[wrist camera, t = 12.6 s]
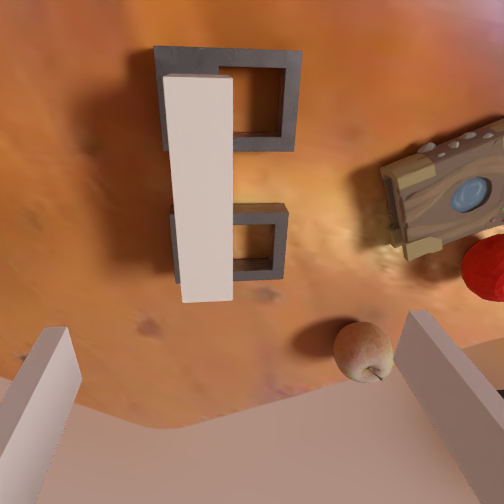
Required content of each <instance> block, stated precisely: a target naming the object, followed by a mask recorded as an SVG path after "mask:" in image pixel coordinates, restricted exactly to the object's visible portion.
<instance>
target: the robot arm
mask: <svg viewBox="0 0 504 504" xmlns="http://www.w3.org/2000/svg"><path fill="white" fill-rule="evenodd" d="M393 361H394V362H395V364H396V366H397V367H398V369H399V371H400V372H401V374H402V375H403V377H404V379H405V380H406V382H407V384H408V385H409V387H410V388H411V390H412V391H413V393H414V395H415V397H416V398H417V400H418V401H419V403H420V405H421V406H422V408H423V410H424V411H425V413H426V415H427V416H428V418H429V420H430V421H431V423H432V424H433V426H434V428H435V429H436V431H437V432H438V434H439V436H440V437H441V439H442V441H443V442H444V444H445V446H446V447H447V449H448V451H449V452H450V454H451V455H452V457H453V459H454V460H455V462H456V463H457V465H458V467H459V468H460V470H461V472H462V473H463V475H464V477H465V478H466V480H467V482H468V483H469V485H470V486H471V488H472V490H473V491H474V493H475V495H476V496H477V498H478V500H479V501H480V503H481V504H504V390H495V389H494V387H493V386H492V385H491V384H490V383H489V382H488V380H487V379H486V378H485V377H484V376H483V375H482V373H481V372H480V371H479V370H478V369H477V368H476V366H475V365H474V364H473V363H472V362H471V361H470V360H469V358H468V357H467V356H466V355H465V354H464V353H463V351H462V350H461V349H460V348H459V347H458V346H457V344H456V343H455V342H454V341H453V340H452V339H451V337H450V336H449V335H448V334H447V333H446V332H445V331H444V329H443V328H442V327H441V326H440V325H439V324H438V322H437V321H436V320H435V319H434V318H433V317H432V315H431V314H430V313H429V312H428V311H427V310H417V311H409V313H408V316H407V319H406V322H405V325H404V328H403V331H402V334H401V337H400V340H399V343H398V345H397V348H396V351H395V354H394V357H393ZM81 381H82V376H81V373H80V369H79V366H78V362H77V359H76V356H75V352H74V349H73V345H72V342H71V338H70V335H69V332H68V328H67V326H64V327H44V329H43V330H42V332H41V334H40V335H39V337H38V339H37V341H36V342H35V344H34V346H33V347H32V349H31V351H30V353H29V354H28V356H27V358H26V359H25V361H24V363H23V364H22V366H21V368H20V370H19V371H18V373H17V375H16V376H15V378H14V380H13V381H12V383H11V385H10V387H9V388H8V390H7V392H6V394H5V395H4V397H3V398H2V400H1V402H0V504H35V503H36V501H37V498H38V495H39V493H40V490H41V487H42V485H43V482H44V479H45V477H46V474H47V472H48V469H49V466H50V464H51V461H52V458H53V456H54V452H55V450H56V448H57V445H58V442H59V440H60V437H61V434H62V432H63V429H64V426H65V424H66V421H67V418H68V416H69V413H70V411H71V408H72V405H73V403H74V400H75V397H76V395H77V392H78V389H79V387H80V384H81Z"/></svg>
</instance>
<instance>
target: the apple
mask: <svg viewBox="0 0 504 504" xmlns="http://www.w3.org/2000/svg"><path fill="white" fill-rule="evenodd" d="M461 271H462V278H463V280H464V282H465V284H466V286H467V287H468V288H469V289H470V290H471V291H472V292H474V293H475V294H477V295H478V296H479V297H481V298H482V299H485V300H489V301H496V302H504V234H497V235H494V236H491V237H488V238H485V239H482V240H480V241H479V242H477V243H476V244H474V245H473V246H472V247H471V248H470V249H469V250H468V251H467V253H466V254H465V256H464V258H463V260H462V266H461Z"/></svg>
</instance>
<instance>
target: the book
mask: <svg viewBox="0 0 504 504" xmlns="http://www.w3.org/2000/svg"><path fill="white" fill-rule="evenodd" d="M380 171H381V177H382V180H383V185H384V186H385V187H386V195H387V198H388V202H387V207H388V209H389V210H390V213H391V214H390V216H389V217H390V220H391V221H392V223H393V225H392V226H391V227H389V228H388V232H389V237H390V242H391V245H392V246H393V247H394V248H397V247H400V246H402V247H403V253H404V258H405V259H406V260H407V261H408V262H410V261H411V260H413V259H416V258H418V257H420V256H422V255H425V254H427V253H434V252H437V251H440V250H443V249H442V245H445V244H448V243H450V242H453V241H455V240H458V239H461V238H463V237H466V236H469V235H472V234H474V233H477V232H480V231H483V230H486V229H489V228H493V227H496V226H500V225H503V224H504V118H503V119H500V120H498V121H495V122H493V123H490V124H488V125H486V126H483V127H481V128H478V129H476V130H473V131H471V132H465V133H464V134H463V135H461V136H458V137H456V138H453V139H451V140H448V141H446V142H443V143H441V144H438V145H436V144H434V143H432V142H428V143H427V144H425V145H424V146H422V147H421V148H420V149H419V150H418V151H417V153H416V154H413V155H411V156H408V157H405V158H403V159H400V160H398V161H395V162H393V163H390V164H388V165H386V166H383V167H381V168H380Z"/></svg>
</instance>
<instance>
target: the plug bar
mask: <svg viewBox="0 0 504 504" xmlns="http://www.w3.org/2000/svg"><path fill="white" fill-rule="evenodd" d="M163 85H164V96H165V108H166V119H167V131H168V142H169V154H170V165H171V177H172V188H173V200H174V212H175V223H176V235H177V246H178V258H179V269H180V281H181V292H182V303H189V302H209V301H230V300H233V78H232V77H230V76H228V75H209V74H169V75H166V76H163Z"/></svg>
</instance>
